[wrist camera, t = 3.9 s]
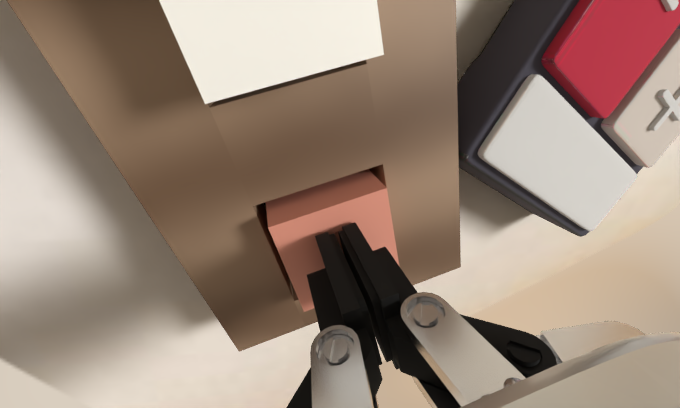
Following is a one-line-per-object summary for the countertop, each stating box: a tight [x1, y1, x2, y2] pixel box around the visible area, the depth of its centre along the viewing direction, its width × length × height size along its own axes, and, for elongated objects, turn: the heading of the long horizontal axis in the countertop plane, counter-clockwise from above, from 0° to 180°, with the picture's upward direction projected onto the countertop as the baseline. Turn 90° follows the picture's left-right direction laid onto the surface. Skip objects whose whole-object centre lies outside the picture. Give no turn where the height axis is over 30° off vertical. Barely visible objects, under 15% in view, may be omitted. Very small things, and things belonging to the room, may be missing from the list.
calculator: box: [457, 0, 680, 236], centre depth 14 cm, size 11×4×15 cm
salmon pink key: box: [266, 169, 399, 312], centre depth 13 cm, size 4×4×4 cm
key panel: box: [7, 0, 461, 351], centre depth 12 cm, size 18×12×3 cm, turn 14°
